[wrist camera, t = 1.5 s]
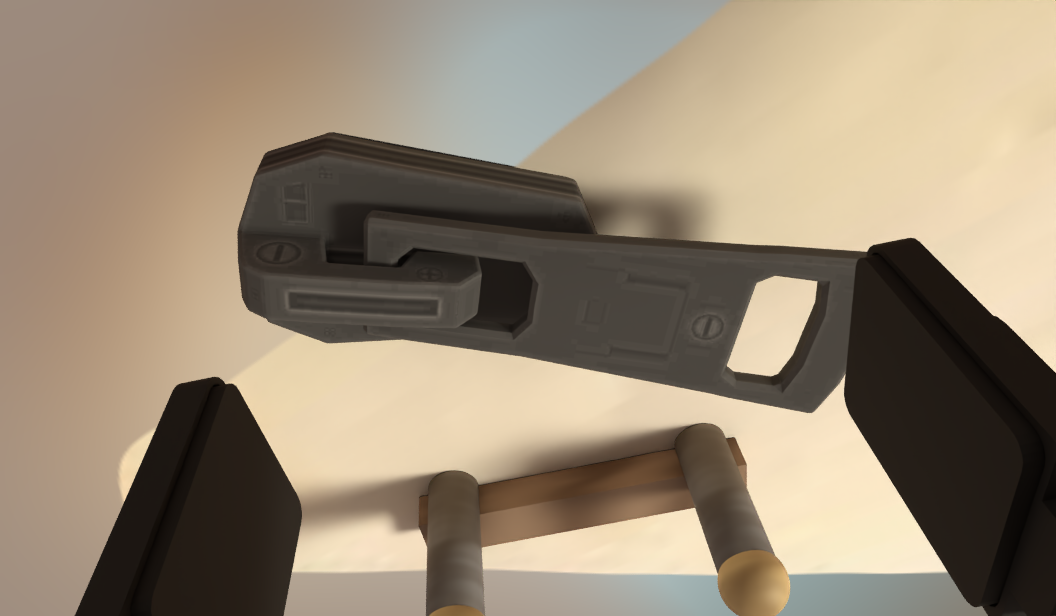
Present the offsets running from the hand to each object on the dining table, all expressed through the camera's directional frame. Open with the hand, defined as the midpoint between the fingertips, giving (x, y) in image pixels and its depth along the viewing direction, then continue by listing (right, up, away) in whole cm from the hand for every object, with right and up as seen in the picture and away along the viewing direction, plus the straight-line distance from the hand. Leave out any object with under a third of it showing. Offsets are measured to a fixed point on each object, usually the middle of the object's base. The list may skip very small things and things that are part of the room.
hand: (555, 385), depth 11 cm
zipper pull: (0, +4, +23) cm, 23 cm away
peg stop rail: (+2, -8, +31) cm, 32 cm away
